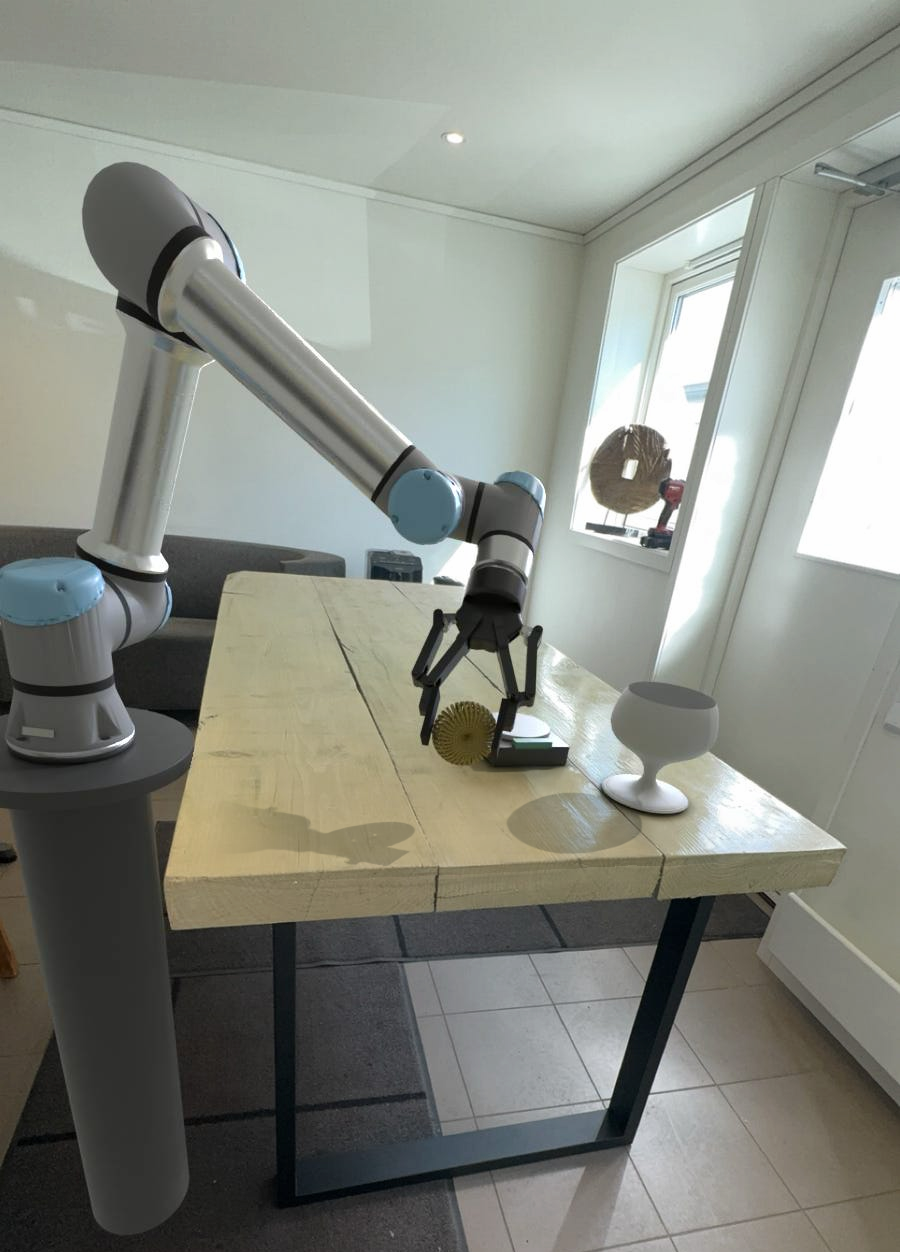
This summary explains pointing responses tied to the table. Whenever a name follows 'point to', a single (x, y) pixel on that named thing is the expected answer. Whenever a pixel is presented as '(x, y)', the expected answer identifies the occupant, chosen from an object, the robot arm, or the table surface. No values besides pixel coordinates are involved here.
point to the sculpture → (464, 733)
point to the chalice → (660, 740)
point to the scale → (529, 744)
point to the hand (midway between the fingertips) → (458, 746)
